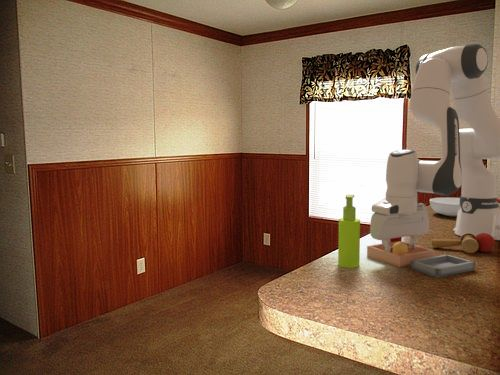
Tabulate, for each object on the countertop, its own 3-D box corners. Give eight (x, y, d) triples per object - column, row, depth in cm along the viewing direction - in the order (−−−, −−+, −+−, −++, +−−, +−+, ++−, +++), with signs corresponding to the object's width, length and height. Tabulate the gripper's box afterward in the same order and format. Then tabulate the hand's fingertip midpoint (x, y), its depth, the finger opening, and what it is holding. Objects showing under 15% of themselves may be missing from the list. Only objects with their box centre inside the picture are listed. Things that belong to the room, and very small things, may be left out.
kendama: (433, 255, 136) (498, 252, 130) (431, 235, 137) (495, 231, 130) (433, 253, 144) (494, 250, 137) (431, 235, 144) (491, 230, 138)
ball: (399, 254, 131) (400, 239, 131) (411, 257, 127) (411, 242, 127) (388, 255, 129) (389, 241, 129) (399, 259, 125) (400, 244, 125)
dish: (399, 250, 137) (400, 241, 137) (434, 261, 125) (434, 250, 125) (367, 256, 131) (367, 246, 131) (399, 267, 119) (400, 256, 119)
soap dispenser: (360, 262, 125) (361, 194, 123) (358, 268, 119) (359, 197, 117) (340, 260, 127) (340, 193, 125) (337, 267, 121) (337, 196, 119)
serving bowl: (424, 216, 196) (424, 201, 196) (434, 210, 213) (435, 196, 213) (475, 221, 185) (476, 205, 184) (481, 213, 202) (482, 199, 201)
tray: (446, 262, 124) (446, 254, 124) (474, 270, 116) (475, 261, 116) (410, 268, 118) (411, 260, 118) (437, 278, 110) (438, 269, 110)
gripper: (418, 201, 134) (417, 244, 135) (367, 206, 125) (366, 252, 126) (435, 203, 128) (433, 249, 130) (382, 209, 119) (381, 258, 121)
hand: (400, 251), depth 128 cm, fingers open, 8 cm apart
